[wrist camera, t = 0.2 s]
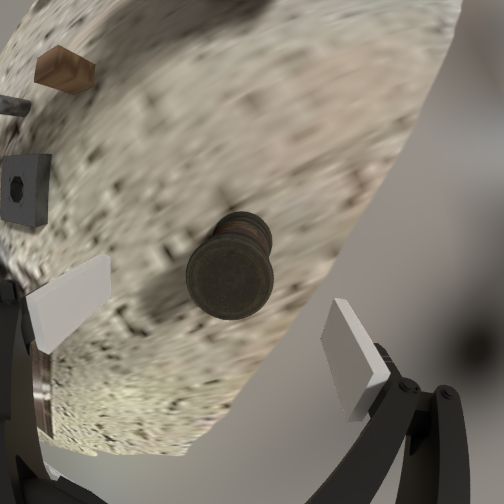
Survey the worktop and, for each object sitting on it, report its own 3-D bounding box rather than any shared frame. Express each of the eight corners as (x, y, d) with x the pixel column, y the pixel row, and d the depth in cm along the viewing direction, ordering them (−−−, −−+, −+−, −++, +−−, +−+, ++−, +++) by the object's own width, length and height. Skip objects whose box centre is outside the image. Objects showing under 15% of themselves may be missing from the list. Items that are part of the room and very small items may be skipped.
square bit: (75, 73, 35) (37, 57, 23) (94, 64, 34) (58, 44, 23) (73, 94, 36) (33, 82, 24) (93, 86, 36) (54, 69, 24)
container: (278, 257, 43) (289, 310, 25) (225, 273, 44) (203, 332, 27) (261, 202, 41) (260, 220, 23) (206, 221, 42) (167, 251, 24)
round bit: (22, 101, 36) (-26, 93, 20) (32, 99, 36) (-19, 89, 20) (19, 118, 37) (-31, 113, 21) (28, 116, 37) (-24, 109, 21)
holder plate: (15, 156, 39) (3, 156, 35) (51, 154, 39) (38, 154, 35) (12, 216, 43) (0, 219, 39) (47, 223, 43) (35, 227, 39)
